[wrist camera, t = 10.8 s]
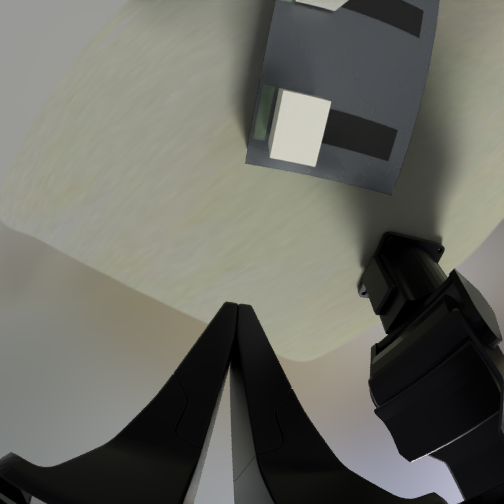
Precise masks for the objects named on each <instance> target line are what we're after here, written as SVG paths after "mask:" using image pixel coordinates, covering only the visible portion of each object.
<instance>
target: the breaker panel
mask: <svg viewBox="0 0 504 504" xmlns="http://www.w3.org/2000/svg"><path fill="white" fill-rule="evenodd" d="M438 8H439V0H348V1H347V2H346V3H344V4H343V5H342V6H341V7H339V8H338V9H337V10H336V11H333V10H329V9H325V8H322V7H318V6H314V5H310V4H305V3H301V2H296V0H276V1H275V6H274V11H273V16H272V21H271V26H270V31H269V36H268V41H267V46H266V51H265V56H264V61H263V67H262V72H261V77H260V83H259V88H258V93H257V99H256V104H255V110H254V115H253V121H252V127H251V132H250V138H249V144H248V149H247V155H246V161H245V164H251V165H257V166H263V167H268V168H274V169H279V170H285V171H290V172H295V173H300V174H305V175H310V176H315V177H319V178H324V179H328V180H333V181H337V182H341V183H346V184H350V185H354V186H358V187H362V188H366V189H370V190H374V191H377V192H381V193H385V194H388V195H392V192H393V190H394V187H395V184H396V181H397V178H398V176H399V173H400V170H401V167H402V164H403V161H404V158H405V155H406V151H407V148H408V145H409V142H410V139H411V135H412V132H413V128H414V125H415V121H416V118H417V114H418V110H419V107H420V103H421V99H422V95H423V91H424V87H425V82H426V78H427V73H428V69H429V64H430V59H431V54H432V48H433V43H434V37H435V30H436V24H437V16H438ZM279 88H282V89H287V90H292V91H297V92H301V93H305V94H310V95H314V96H318V97H321V98H323V99H326V100H329V101H331V105H330V109H329V113H328V118H327V122H326V126H325V130H324V134H323V138H322V142H321V146H320V150H319V154H318V158H317V162H316V166H315V167H313V166H309V165H304V164H299V163H294V162H289V161H284V160H279V159H273V158H270V154H269V145H268V141H269V136H270V131H271V126H272V121H273V116H274V111H275V106H276V101H277V96H278V91H279Z"/></svg>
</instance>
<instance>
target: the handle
mask: <svg viewBox="0 0 504 504" xmlns="http://www.w3.org/2000/svg"><path fill="white" fill-rule="evenodd" d="M330 105H331V101H329V100H326V99H323V98H321V97H318V96H314V95H310V94H305V93H301V92H297V91H292V90H287V89H282V88H279V91H278V96H277V101H276V106H275V111H274V116H273V121H272V126H271V131H270V136H269V141H268V145H269V154H270V158H273V159H279V160H284V161H289V162H294V163H299V164H304V165H309V166H313V167H315V166H316V162H317V158H318V154H319V150H320V146H321V142H322V138H323V134H324V130H325V126H326V122H327V118H328V113H329V109H330Z"/></svg>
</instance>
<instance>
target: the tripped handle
mask: <svg viewBox="0 0 504 504" xmlns="http://www.w3.org/2000/svg"><path fill="white" fill-rule="evenodd" d="M347 1H348V0H296V2H301V3H305V4H310V5H314V6H318V7H322V8H325V9H329V10H333V11H336V10H337V9H338V8H339V7H341V6H342V5H343V4H344V3H346V2H347Z"/></svg>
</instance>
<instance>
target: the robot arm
mask: <svg viewBox="0 0 504 504" xmlns="http://www.w3.org/2000/svg"><path fill="white" fill-rule="evenodd" d="M389 237H391V238H390V239H389V240H387V239H388V238H389ZM439 249H440V250H439ZM444 250H445V248H444V246H443V245H442V244H440V243H436V242H432V241H428V240H424V239H420V238H416V237H411V236H407V235H403V234H398V233H394V232H386V233H385V234H384V235H383V237H382V239H381V242H380V244H379V246H378V248H377V251H376V253H375V255H374V256H373V257H372V259H371V261H370V263H369V266H368V268H367V270H366V272H365V274H364V276H363V278H362V283H361V285H360V287H359V289H358V293H359V296H360V297H364V298H369V299H370V302H371V304H372V307H373V310H374V312H375V314H376V315H379V316H380V319H381V321H382V324H383V327H384V330H385V332H386V334H388V335H387V336H386V337H385V338H384V339H383V340H382V341H380V342H379V343H376V344H375V345H373V346H372V347H371V364H370V379H369V380H368V384H369V388H370V395H371V398H372V401H373V403H374V405H375V406H376V409H375V410H374V412H375V414H376V415H377V416H378V417H379V418H380V419H381V420H382V421H383V422H384V423H385V425H386V427H387V428H388V430H389V431H390V433H391V435H392V437H393V439H394V442H395V444H396V446H397V449H398V451H399V454H400V455H402V456H403V457H404V458H405V459H407V460H408V461H409V462H414V461H416V460H418V459H420V458H422V457H424V456H426V455H429V456H431V457H433V458H435V459H438V460H440V461H442V462H444V463H445V464H446V465H447V467H448V468H449V470H450V472H451V474H452V476H453V478H454V480H455V482H456V484H457V486H458V488H459V490H460V492H461V494H462V497H463V499H464V501H463V502H461V503H458V504H504V354H503V353H502V351H501V350H500V347H499V346H498V344H499V343H500V342H501V341H502V336H501V332H500V329H499V326H498V323H497V319H496V316H495V313H494V312H493V310H492V308H491V307H490V305H489V304H488V303H487V301H486V300H485V298H484V297H483V296H482V294H481V293H480V292H479V291H478V290H477V289H476V288H475V287H474V286H473V285H472V284H471V283H470V282H469V281H468V280H467V279H466V278H464V277H463V276H462V275H461V274H460V273H459V272H458V271H457V270H456V269H453V270H452V271H451V272H450V274H449V277H448V278H447V276H446V275H445V273H444V272H443V270H442V269H441V267H440V266H439V264H438V262H439V260H440V258H441V256H442V255H443V253H444ZM363 291H365V292H363ZM229 365H230V408H231V437H232V460H233V461H232V462H233V482H234V501H235V504H448V503H447V501H445V500H444V499H443V498H442V497H440V496H439V495H438V494H436V493H434V492H433V493H429V494H426V495H424V496H421V497H418V498H414V499H405V498H401V497H398V496H395V495H393V494H391V493H389V492H388V491H386V490H384V489H382V488H380V487H378V486H377V485H375V484H373V483H371V482H369V481H368V480H366V479H364V478H363V477H361V476H359V475H357V474H356V473H354V472H353V471H351V470H349V469H348V468H347V467H346V466H344V465H343V464H342V463H341V462H340V461H339V459H338V458H337V457H336V456H335V454H334V453H333V452H332V450H331V449H330V448H329V446H328V445H327V443H326V442H325V441H324V439H323V438H322V436H321V435H320V434H319V432H318V431H317V429H316V428H315V427H314V425H313V423H312V422H311V420H310V419H309V417H308V416H307V414H306V413H305V411H304V409H303V408H302V406H301V404H300V402H299V400H298V398H297V397H296V394H295V392H294V391H293V389H291V385H290V383H289V381H288V379H287V377H286V375H285V373H284V371H283V369H282V367H281V365H280V363H279V361H278V359H277V357H276V355H275V353H274V351H273V349H272V347H271V345H270V343H269V341H268V338H267V336H266V334H265V332H264V330H263V328H262V326H261V324H260V322H259V320H258V318H257V316H256V314H255V312H254V310H253V308H252V306H251V305H247V304H239V305H238V304H237V303H233V302H225V303H224V304H223V305H222V307H221V308H220V309H219V311H218V312H217V314H216V315H215V316H214V318H213V319H212V321H211V322H210V323H209V325H208V326H207V328H206V329H205V330H204V332H203V333H202V334H201V336H200V337H199V339H198V340H197V341H196V343H195V344H194V345H193V347H192V348H191V350H190V351H189V352H188V354H187V355H186V356H185V358H184V359H183V361H182V362H181V363H180V365H179V366H178V368H177V369H176V370H175V372H174V374H172V376H171V377H170V378H169V380H168V381H167V382H166V384H165V385H164V386H163V387H162V389H161V390H160V391H159V393H158V394H157V395H156V396H155V397H154V398H153V400H152V401H151V402H150V403H149V404H148V405H147V406H146V407H145V408H144V409H143V410H142V411H141V412H140V413H139V414H138V415H137V416H136V417H135V418H134V419H133V420H132V421H131V422H130V423H129V424H128V425H127V426H126V427H125V428H124V429H123V430H122V431H121V432H120V433H119V434H117V435H116V436H115V437H114V438H113V439H111V440H110V441H109V442H107V443H106V444H104V445H102V446H100V447H98V448H96V449H94V450H91V451H89V452H87V453H85V454H82V455H80V456H78V457H76V458H73V459H71V460H69V461H66V462H64V463H61V464H59V465H56V466H52V467H41V466H37V465H34V464H32V463H30V462H28V461H27V460H25V459H23V458H22V457H20V456H18V455H16V454H14V453H12V452H10V453H9V454H7V455H5V456H4V457H2V458H1V459H0V504H193V503H194V499H195V496H196V492H197V488H198V485H199V481H200V477H201V473H202V470H203V466H204V462H205V458H206V454H207V451H208V447H209V443H210V439H211V435H212V432H213V428H214V424H215V420H216V416H217V413H218V409H219V405H220V401H221V397H222V393H223V389H224V386H225V382H226V378H227V374H228V370H229Z"/></svg>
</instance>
